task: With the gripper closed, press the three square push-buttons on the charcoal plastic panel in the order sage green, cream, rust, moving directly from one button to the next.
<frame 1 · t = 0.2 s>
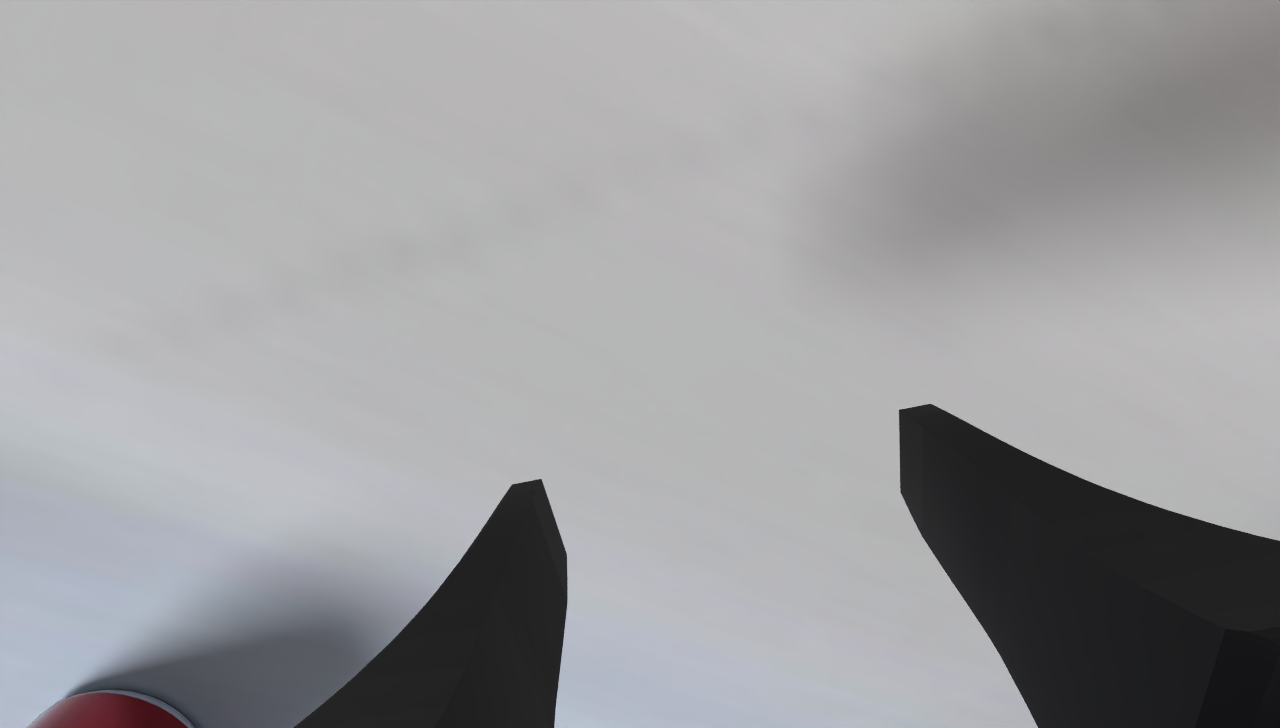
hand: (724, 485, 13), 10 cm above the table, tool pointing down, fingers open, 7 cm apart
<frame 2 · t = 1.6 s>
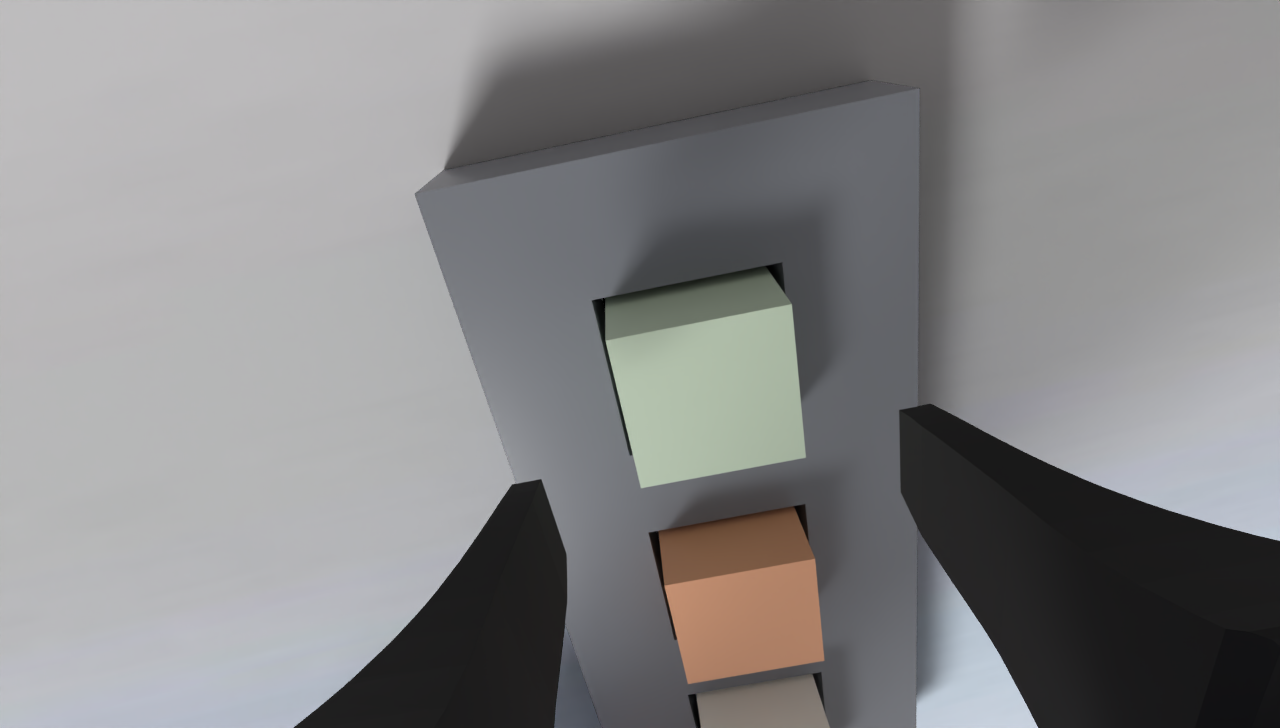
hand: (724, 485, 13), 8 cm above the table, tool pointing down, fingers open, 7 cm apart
button panel: (721, 516, 24), on the table
sage button: (702, 372, 17), point 3 cm above the table, slide at 0.0 cm
rust button: (738, 585, 21), point 3 cm above the table, slide at 0.0 cm
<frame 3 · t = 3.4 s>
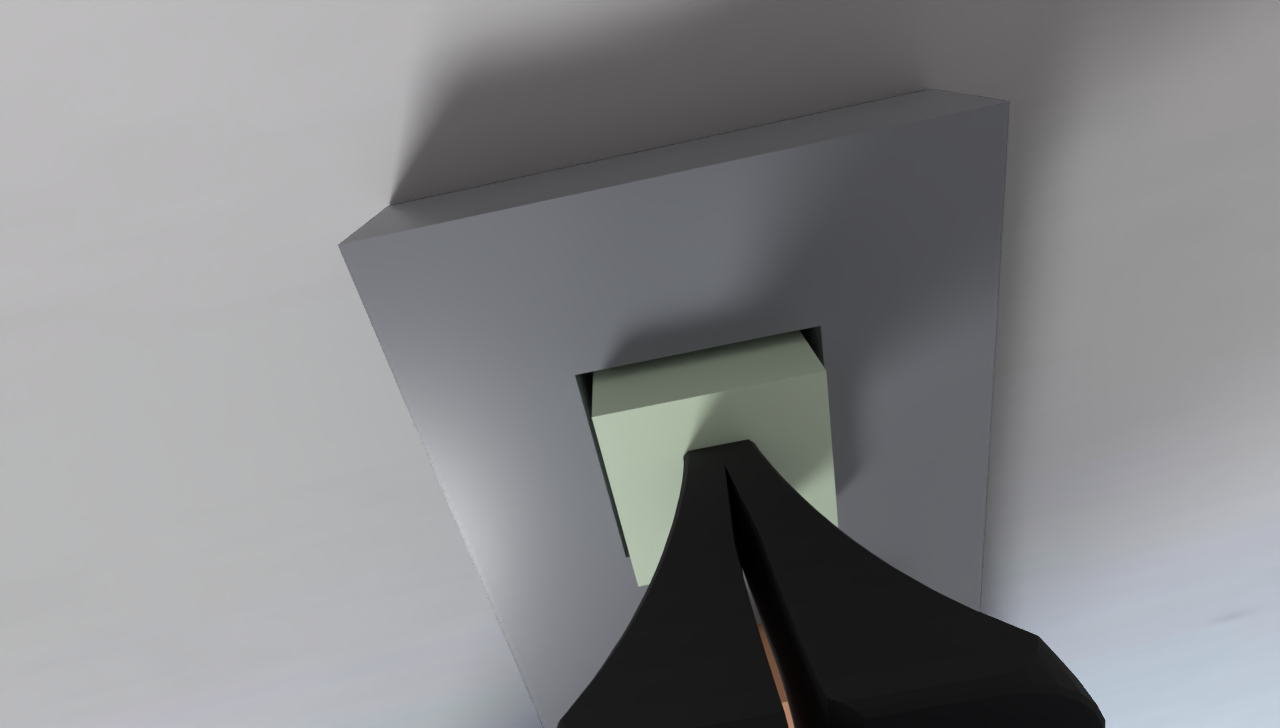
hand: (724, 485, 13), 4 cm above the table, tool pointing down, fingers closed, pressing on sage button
button panel: (736, 603, 20), on the table
sage button: (712, 443, 14), point 3 cm above the table, slide at 0.8 cm, touching gripper
rust button: (760, 702, 17), point 3 cm above the table, slide at 0.0 cm
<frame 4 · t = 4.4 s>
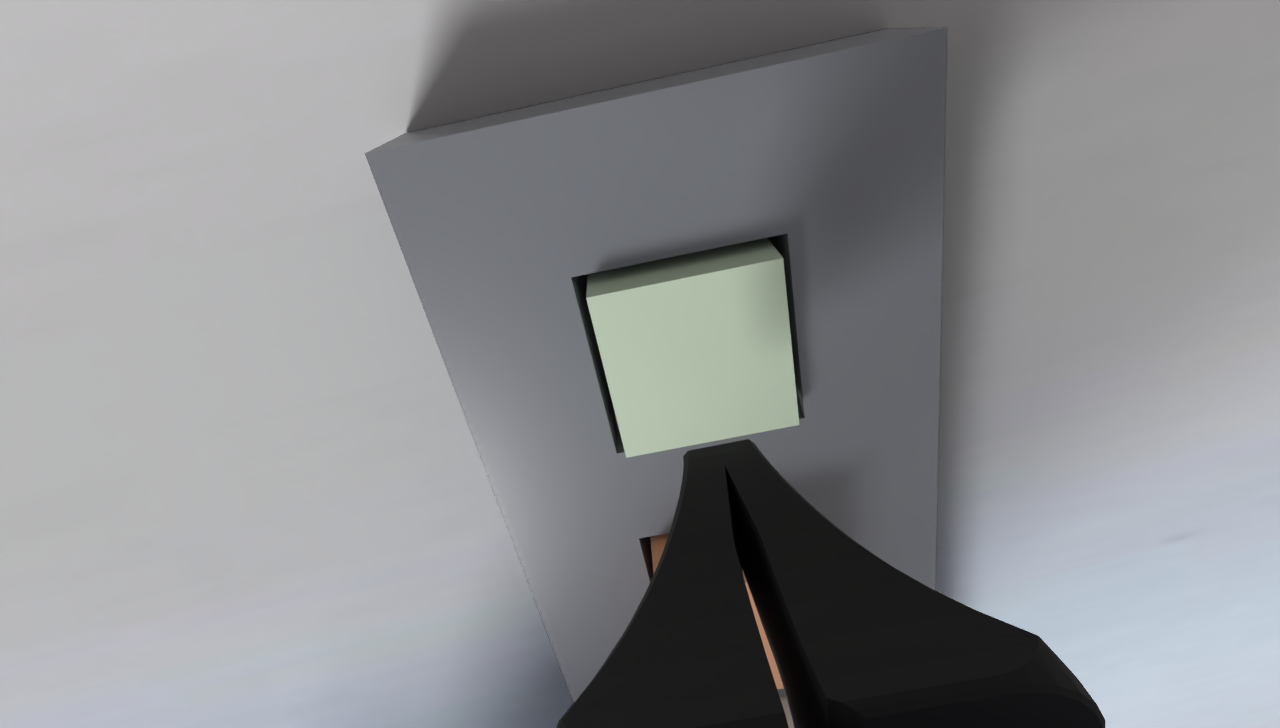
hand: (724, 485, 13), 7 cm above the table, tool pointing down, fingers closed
button panel: (720, 518, 22), on the table
sage button: (691, 336, 17), point 2 cm above the table, slide at 1.3 cm
rust button: (738, 595, 19), point 3 cm above the table, slide at 0.0 cm
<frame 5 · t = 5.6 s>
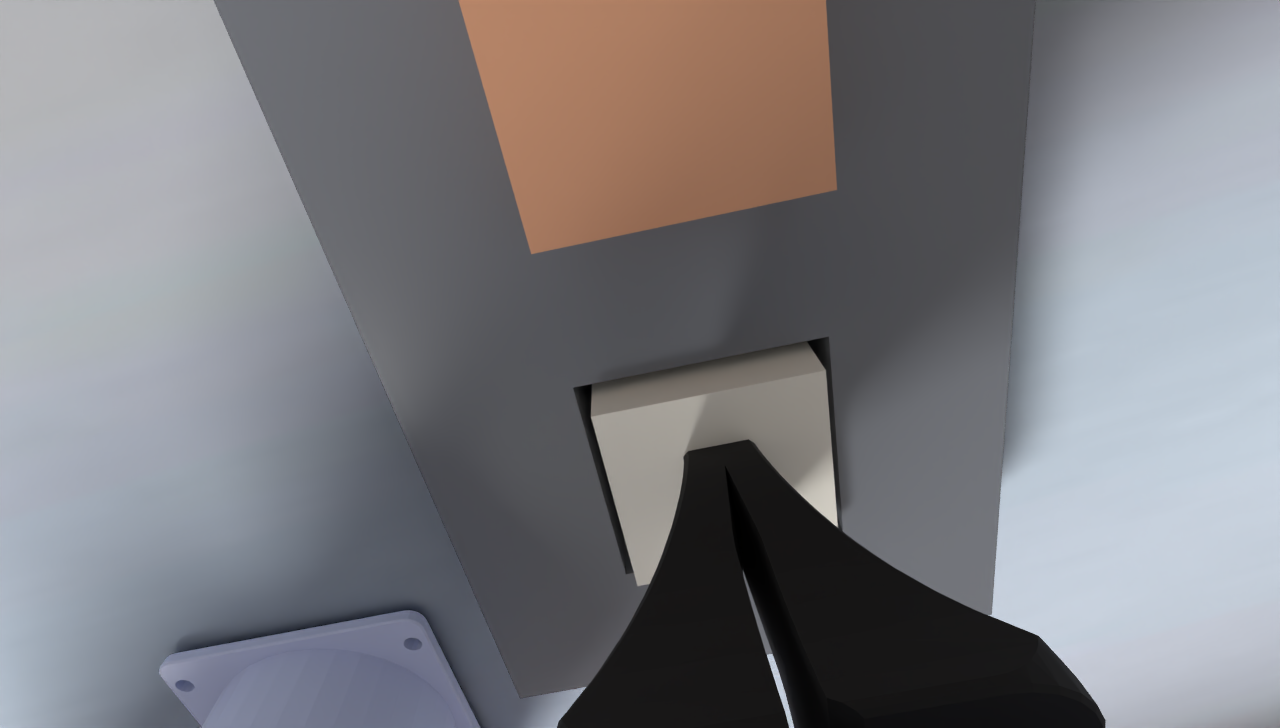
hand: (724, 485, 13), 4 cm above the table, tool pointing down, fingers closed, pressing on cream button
cream button: (711, 442, 14), point 2 cm above the table, slide at 1.3 cm, touching gripper
button panel: (636, 47, 13), on the table
rust button: (646, 50, 10), point 3 cm above the table, slide at 0.0 cm
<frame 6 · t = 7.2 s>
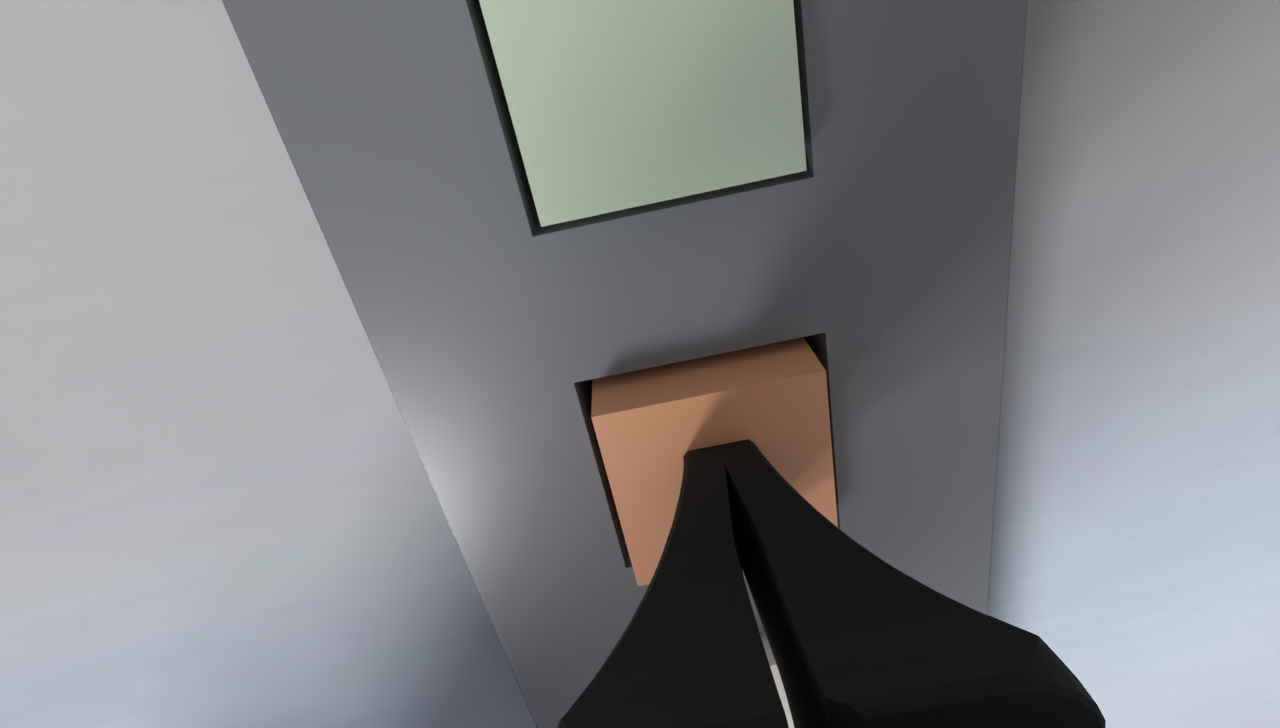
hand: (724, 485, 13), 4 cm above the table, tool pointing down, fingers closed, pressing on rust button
cream button: (752, 670, 18), point 2 cm above the table, slide at 1.3 cm
button panel: (698, 391, 16), on the table
sage button: (641, 49, 11), point 2 cm above the table, slide at 1.3 cm
rust button: (712, 442, 14), point 2 cm above the table, slide at 1.1 cm, touching gripper
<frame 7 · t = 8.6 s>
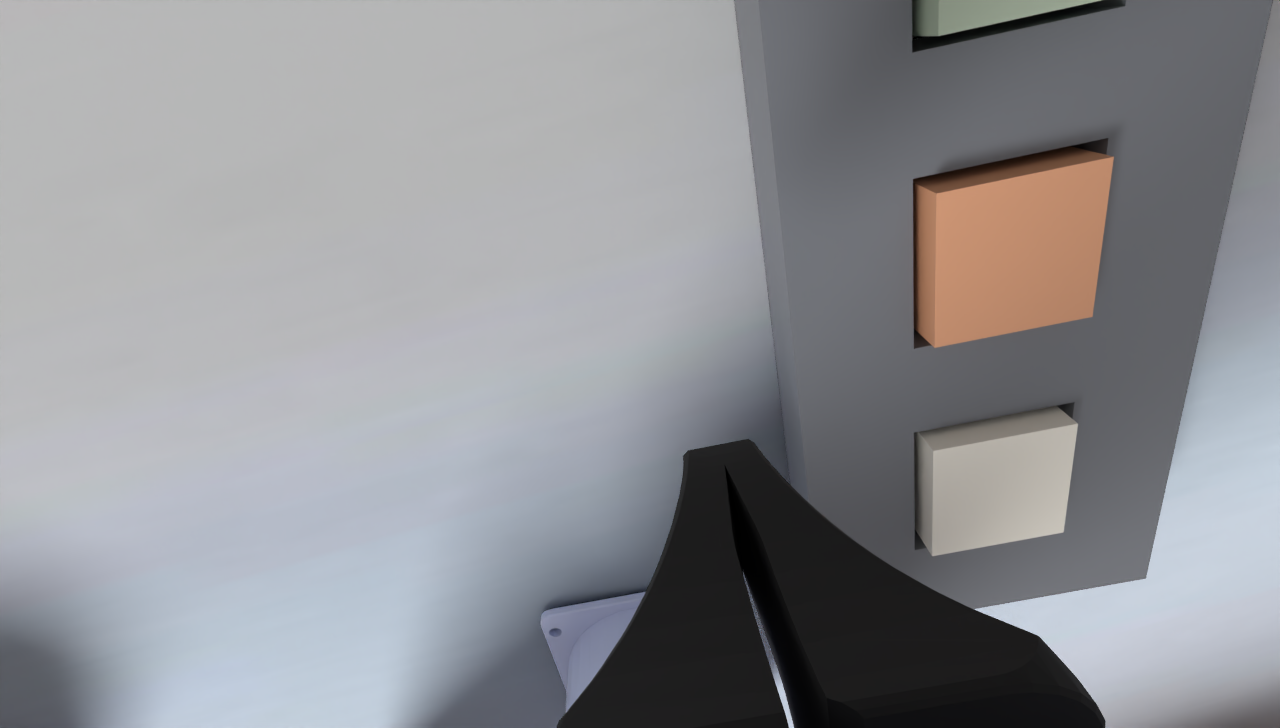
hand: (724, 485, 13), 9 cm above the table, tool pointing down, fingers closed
cream button: (975, 464, 22), point 2 cm above the table, slide at 1.3 cm
button panel: (952, 222, 20), on the table
rust button: (986, 241, 19), point 2 cm above the table, slide at 1.3 cm
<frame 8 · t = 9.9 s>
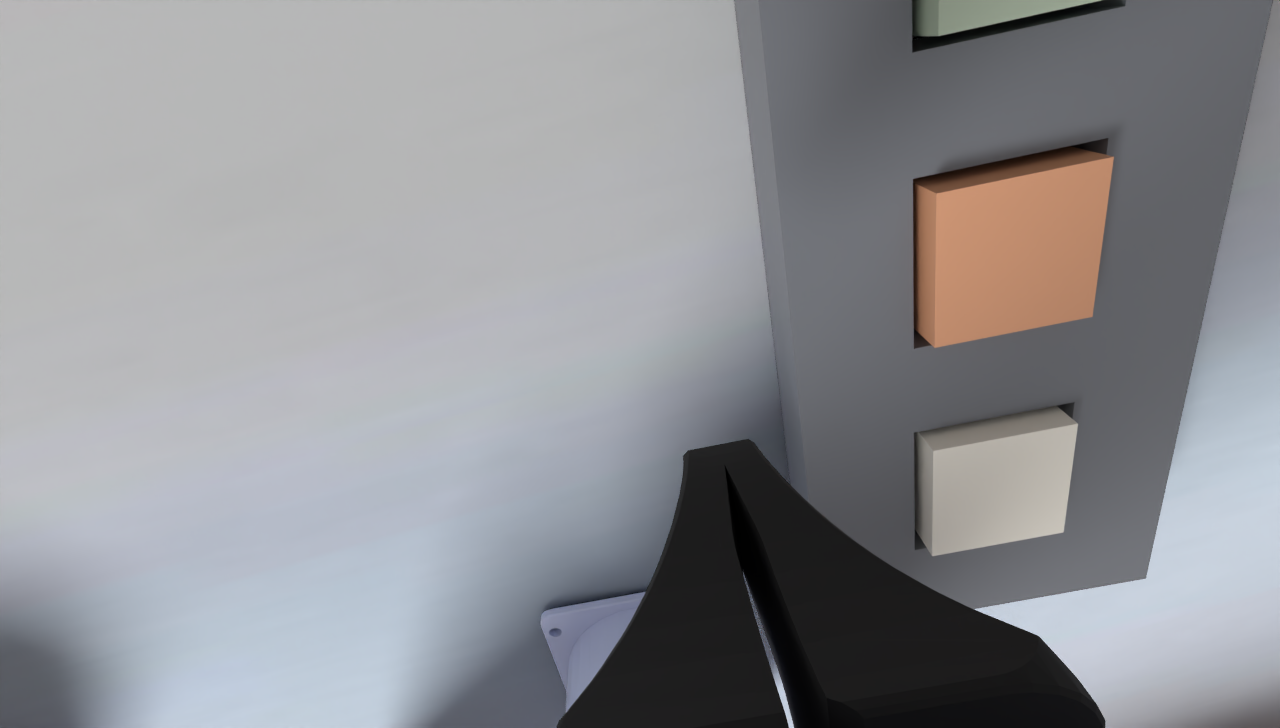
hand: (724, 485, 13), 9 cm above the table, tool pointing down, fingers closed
cream button: (975, 464, 22), point 2 cm above the table, slide at 1.3 cm
button panel: (952, 222, 20), on the table
rust button: (986, 241, 19), point 2 cm above the table, slide at 1.3 cm
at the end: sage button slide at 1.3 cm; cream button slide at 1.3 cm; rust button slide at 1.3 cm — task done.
